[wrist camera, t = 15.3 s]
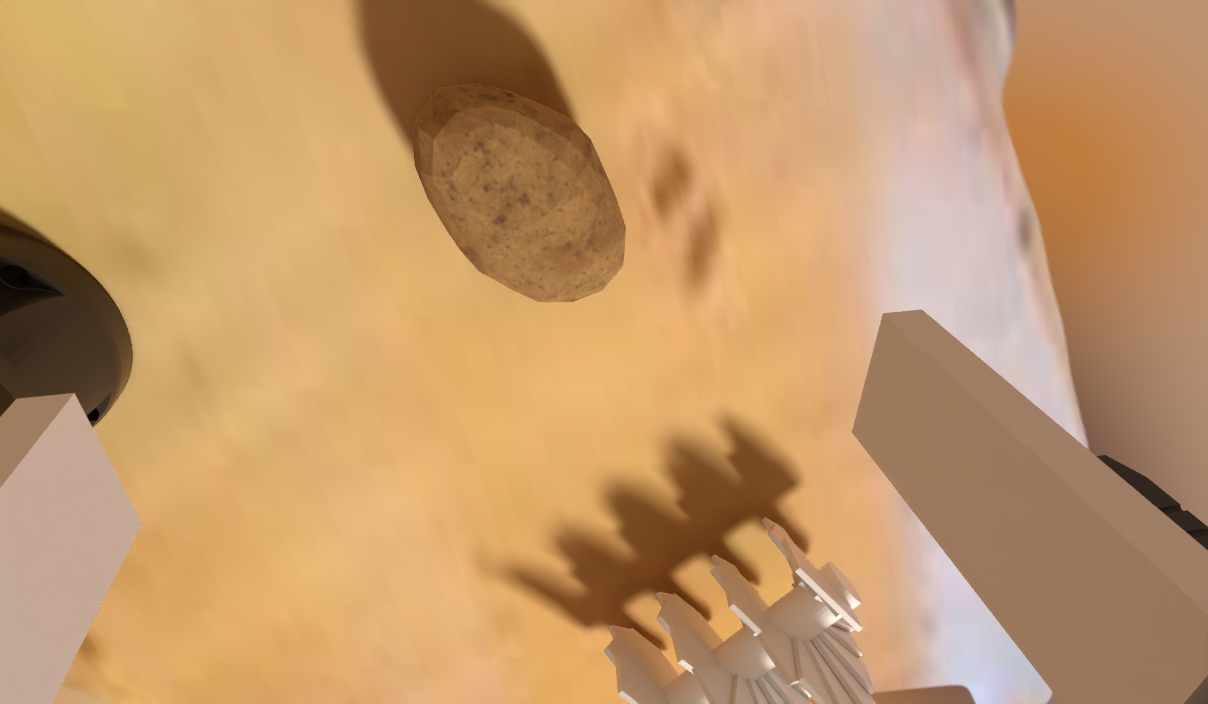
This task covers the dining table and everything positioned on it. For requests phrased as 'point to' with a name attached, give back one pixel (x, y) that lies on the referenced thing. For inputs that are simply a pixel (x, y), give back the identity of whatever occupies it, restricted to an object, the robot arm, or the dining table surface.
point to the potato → (519, 191)
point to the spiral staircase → (753, 643)
